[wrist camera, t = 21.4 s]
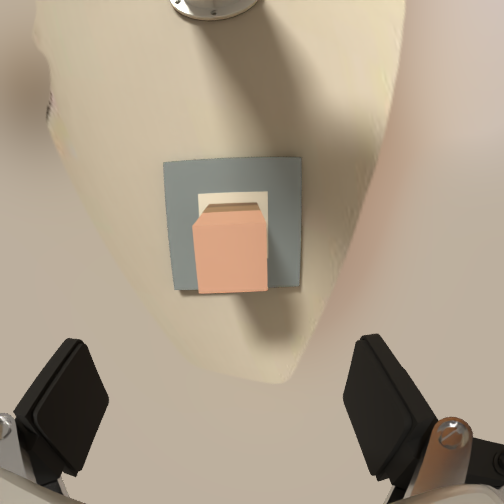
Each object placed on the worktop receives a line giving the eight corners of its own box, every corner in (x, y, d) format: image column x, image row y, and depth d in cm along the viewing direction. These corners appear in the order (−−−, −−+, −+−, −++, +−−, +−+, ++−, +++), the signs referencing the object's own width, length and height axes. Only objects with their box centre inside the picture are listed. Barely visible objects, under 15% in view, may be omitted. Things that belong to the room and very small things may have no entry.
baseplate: (165, 162, 32) (162, 162, 31) (299, 157, 32) (301, 157, 31) (176, 286, 37) (174, 290, 35) (297, 282, 37) (299, 286, 36)
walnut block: (209, 203, 32) (202, 212, 27) (256, 202, 32) (260, 210, 27) (211, 249, 34) (206, 267, 28) (257, 248, 34) (261, 265, 28)
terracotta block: (202, 212, 27) (192, 226, 21) (260, 210, 27) (266, 222, 21) (206, 267, 28) (199, 293, 22) (262, 265, 28) (267, 290, 23)
